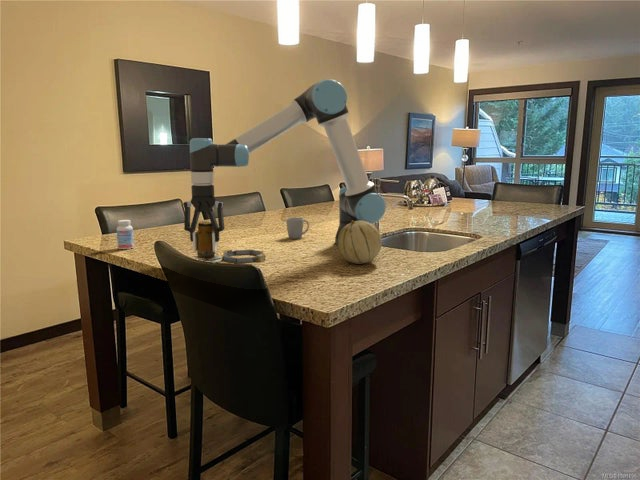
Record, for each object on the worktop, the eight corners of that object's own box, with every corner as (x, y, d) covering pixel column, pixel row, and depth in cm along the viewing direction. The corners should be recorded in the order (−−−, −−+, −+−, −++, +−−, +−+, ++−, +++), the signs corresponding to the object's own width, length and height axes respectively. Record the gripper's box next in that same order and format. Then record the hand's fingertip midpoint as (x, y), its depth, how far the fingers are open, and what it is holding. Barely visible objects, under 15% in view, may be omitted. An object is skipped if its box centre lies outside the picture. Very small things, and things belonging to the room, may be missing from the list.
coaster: (228, 259, 169) (227, 258, 169) (206, 265, 161) (206, 263, 161) (208, 256, 174) (208, 254, 174) (186, 261, 166) (186, 260, 166)
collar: (275, 257, 172) (275, 251, 172) (249, 265, 161) (249, 259, 160) (239, 251, 182) (238, 246, 182) (211, 258, 171) (211, 253, 170)
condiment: (206, 253, 173) (205, 221, 171) (223, 256, 169) (223, 223, 167) (191, 257, 167) (190, 223, 165) (209, 260, 163) (209, 225, 161)
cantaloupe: (389, 262, 163) (390, 219, 160) (364, 270, 152) (364, 224, 149) (355, 256, 172) (355, 215, 170) (328, 263, 162) (328, 220, 159)
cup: (284, 237, 212) (284, 217, 210) (306, 235, 215) (306, 216, 213) (288, 240, 204) (288, 220, 203) (311, 238, 207) (310, 219, 206)
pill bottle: (117, 250, 186) (114, 222, 184) (119, 247, 192) (116, 219, 190) (133, 249, 188) (131, 221, 186) (135, 246, 194) (132, 219, 192)
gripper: (233, 183, 166) (234, 249, 170) (179, 183, 167) (182, 248, 171) (227, 185, 158) (229, 253, 163) (171, 184, 160) (174, 252, 164)
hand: (205, 250), depth 167 cm, fingers closed on condiment, 6 cm apart
